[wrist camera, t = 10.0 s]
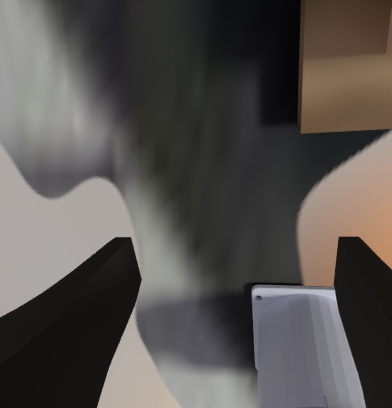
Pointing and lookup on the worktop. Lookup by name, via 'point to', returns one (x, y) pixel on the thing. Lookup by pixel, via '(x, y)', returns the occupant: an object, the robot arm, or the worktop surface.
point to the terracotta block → (389, 38)
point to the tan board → (344, 66)
